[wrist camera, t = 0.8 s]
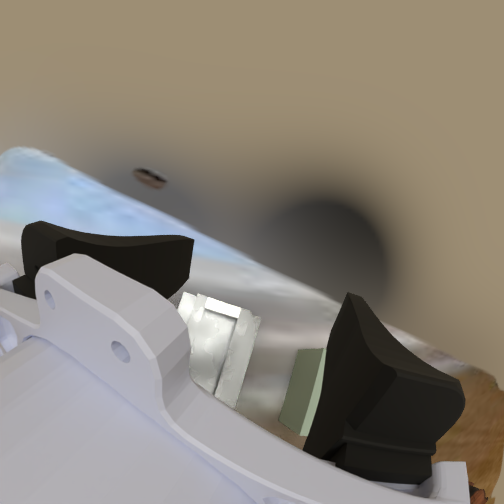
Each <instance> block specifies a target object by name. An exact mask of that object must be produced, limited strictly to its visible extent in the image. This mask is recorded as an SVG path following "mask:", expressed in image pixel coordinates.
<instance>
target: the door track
mask: <svg viewBox="0 0 504 504" xmlns="http://www.w3.org/2000/svg"><path fill="white" fill-rule="evenodd" d="M177 311H178V313H179V314H180V316H181V317H182V319H183V320H184V322H185V323H186V325H187V327H188V332H189V338H190V344H191V353H190V361H189V374H190V376H191V378H192V379H193V380H194V381H195V382H196V383H197V384H199V385H200V386H201V387H203V388H204V389H205V390H207V391H208V392H210V393H211V394H212V395H214V396H215V397H216V398H218V399H219V400H221V401H222V402H224V403H225V404H226V405H228V406H229V407H231V408H232V409H234V410H235V406H236V403H237V400H238V397H239V393H240V390H241V387H242V383H243V380H244V377H245V373H246V370H247V366H248V363H249V360H250V356H251V353H252V349H253V346H254V342H255V339H256V335H257V332H258V328H259V325H260V321H261V317H258V316H254V315H251V311H248V310H245V309H242V308H239V307H236V306H233V305H230V304H227V303H224V302H221V301H218V300H215V299H212V298H209V297H207V296H204V295H201V294H198V295H197V296H195V295H192V294H189V293H186V292H184V293H183V296H182V299H181V302H180V304H179V307H178V310H177Z"/></svg>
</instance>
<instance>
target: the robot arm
mask: <svg viewBox="0 0 504 504" xmlns="http://www.w3.org/2000/svg"><path fill="white" fill-rule="evenodd" d="M193 245H194V239H191V238H188V237H185V236H181V235H154V236H107V235H98V234H91V233H84V232H79V231H75V230H70V229H67V228H63V227H60V226H57V225H53V224H50V223H47V222H45V221H38V222H34V223H31V224H28V225H26V226H25V228H24V230H23V233H22V239H21V247H22V256H23V264H24V271H25V274H26V275H23V276H21V277H20V276H19V274H18V272H17V271H16V270H15V269H14V268H13V267H12V266H11V265H10V264H9V263H8V262H7V263H5V264H2V265H0V504H470V495H469V485H468V476H467V469H466V462H454V461H441V462H437V463H434V464H431V456H433V455H434V454H435V453H436V442H437V441H438V440H439V439H440V438H441V437H442V436H443V435H444V434H445V433H446V432H447V431H448V430H449V429H450V428H451V427H452V426H453V425H454V424H455V422H456V421H457V420H458V419H459V417H460V416H461V414H462V412H463V410H464V408H465V396H464V393H463V390H462V387H461V384H460V381H459V380H458V379H456V378H454V377H451V376H449V375H447V374H445V373H443V372H441V371H439V370H437V369H435V368H434V367H432V366H430V365H429V364H427V363H425V362H424V361H422V360H421V359H420V358H418V357H417V356H415V355H414V354H413V353H412V352H410V351H409V350H408V349H406V348H405V347H404V346H403V345H402V344H401V343H400V342H399V341H398V340H397V339H396V338H394V337H393V336H392V335H391V333H390V332H389V331H388V330H387V329H386V328H385V327H384V325H383V324H382V323H381V322H380V321H379V319H378V318H377V317H376V315H375V314H374V313H373V311H372V310H371V309H370V307H369V306H368V304H367V303H366V302H365V301H364V299H363V298H362V297H360V296H358V295H355V294H352V293H349V292H348V293H347V295H346V297H345V300H344V302H343V304H342V307H341V309H340V311H339V314H338V316H337V318H336V321H335V323H334V325H333V327H332V330H331V333H330V336H329V340H328V344H327V348H326V356H325V365H324V373H323V381H322V388H321V394H320V398H319V402H318V405H317V409H316V412H315V415H314V418H313V422H312V425H311V428H310V431H309V434H308V436H307V439H306V442H305V445H304V447H303V450H301V449H299V448H297V447H295V446H293V445H291V444H289V443H288V442H286V441H284V440H282V439H281V438H279V437H277V436H275V435H274V434H272V433H270V432H269V431H267V430H265V429H264V428H262V427H260V426H259V425H257V424H255V423H254V422H252V421H251V420H249V419H248V418H246V417H244V416H243V415H241V414H240V413H238V412H237V411H235V410H234V409H232V408H231V407H229V406H228V405H226V404H225V403H224V402H222V401H221V400H219V399H218V398H216V397H215V396H214V395H212V394H211V393H210V392H208V391H207V390H205V389H204V388H203V387H201V386H200V385H199V384H197V383H196V382H195V381H194V380H193V379H192V378H191V376H190V374H189V361H190V353H191V344H190V338H189V332H188V327H187V325H186V323H185V322H184V320H183V319H182V317H181V316H180V314H179V313H178V311H177V309H176V308H175V306H174V305H173V304H172V303H171V302H169V301H168V300H167V299H168V298H170V297H171V296H172V295H173V294H175V293H176V292H177V291H178V290H179V289H180V288H181V287H182V286H183V285H184V283H185V282H186V281H187V280H188V279H189V273H190V266H191V259H192V252H193Z"/></svg>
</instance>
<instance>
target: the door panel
mask: <svg viewBox="0 0 504 504" xmlns="http://www.w3.org/2000/svg"><path fill="white" fill-rule="evenodd" d="M325 356H326V349H324V348H321V349H304V350H298V353H297V357H296V361H295V365H294V368H293V372H292V376H291V379H290V383H289V387H288V390H287V393H286V397H285V400H284V404H283V407H282V410H281V414H280V417H279V420H278V421H280V422H281V423H283V424H284V425H285V426H287V427H288V428H290V429H291V430H293V431H294V432H296V433H297V434H299V435H302V436H308V434H309V431H310V428H311V425H312V422H313V418H314V415H315V412H316V409H317V405H318V402H319V398H320V394H321V388H322V381H323V373H324V365H325Z"/></svg>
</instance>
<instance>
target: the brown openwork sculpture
mask: <svg viewBox="0 0 504 504" xmlns="http://www.w3.org/2000/svg"><path fill="white" fill-rule="evenodd" d="M468 485H469V495H470V504H485V503H486V502H487V500H488V497H487V498H486V497H485V491H484V489H483V490H482V489H480V490H479V489H478V488H476V487H473V485H474V483H472V482H468Z"/></svg>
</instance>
